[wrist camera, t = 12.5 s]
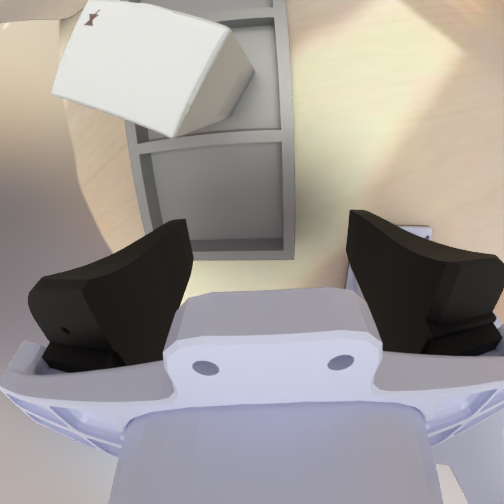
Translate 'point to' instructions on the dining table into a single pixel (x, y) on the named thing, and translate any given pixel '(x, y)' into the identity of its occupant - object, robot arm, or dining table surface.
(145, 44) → the skincare box
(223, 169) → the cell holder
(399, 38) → the dining table surface
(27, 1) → the foam cup
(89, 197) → the dining table surface
